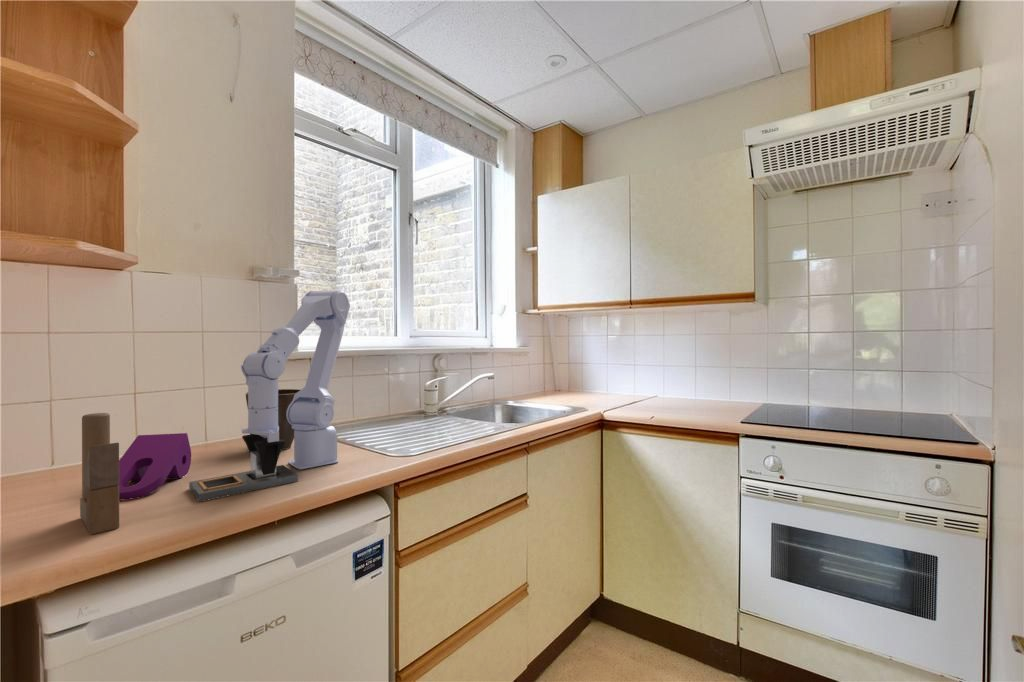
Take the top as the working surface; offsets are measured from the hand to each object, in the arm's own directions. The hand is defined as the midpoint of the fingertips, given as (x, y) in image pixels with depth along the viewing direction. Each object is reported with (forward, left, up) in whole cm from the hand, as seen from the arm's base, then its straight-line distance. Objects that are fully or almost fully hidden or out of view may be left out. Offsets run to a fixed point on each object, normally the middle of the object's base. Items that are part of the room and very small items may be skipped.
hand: (263, 469), depth 98 cm
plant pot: (-12, -30, -3) cm, 32 cm away
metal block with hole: (0, 0, -3) cm, 3 cm away
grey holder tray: (+3, 0, -3) cm, 4 cm away
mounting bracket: (+18, -14, -3) cm, 23 cm away
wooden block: (+26, +5, -3) cm, 27 cm away
